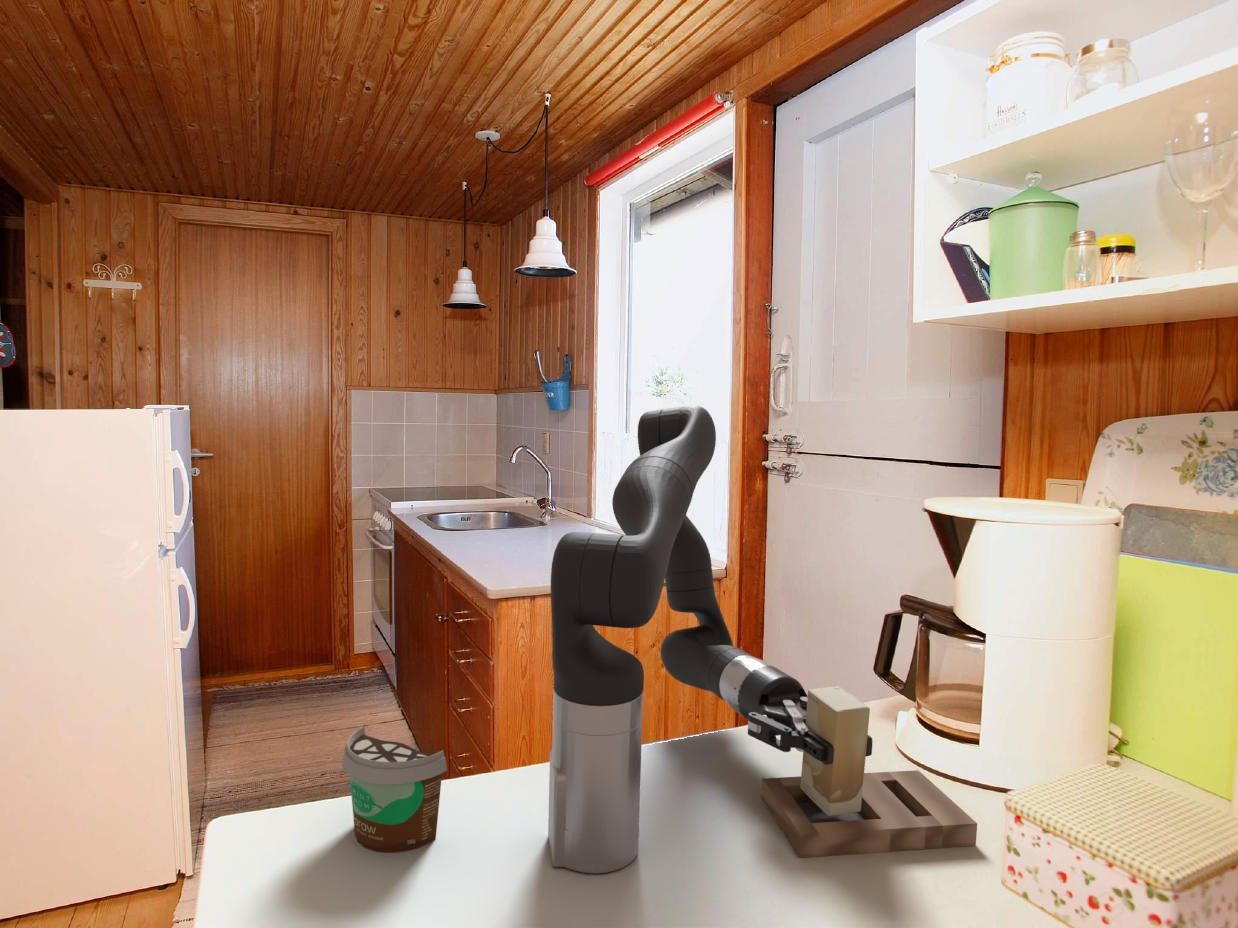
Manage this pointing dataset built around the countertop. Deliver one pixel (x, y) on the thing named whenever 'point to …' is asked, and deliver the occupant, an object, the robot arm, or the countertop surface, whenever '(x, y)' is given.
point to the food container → (392, 793)
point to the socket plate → (871, 817)
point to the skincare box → (836, 750)
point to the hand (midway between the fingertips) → (850, 751)
